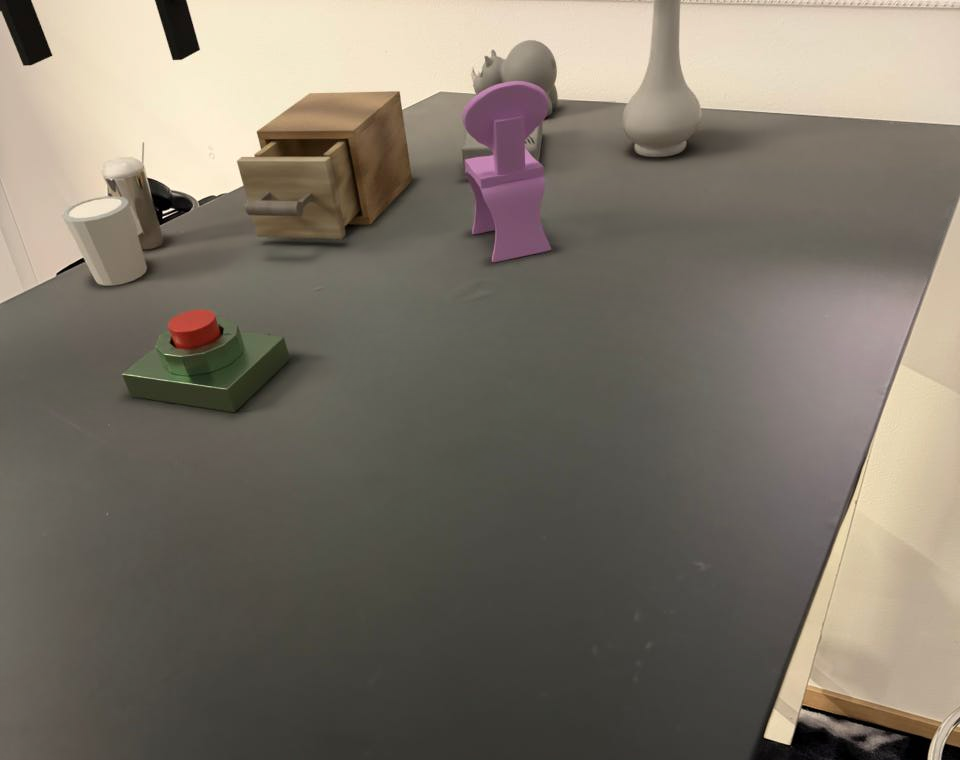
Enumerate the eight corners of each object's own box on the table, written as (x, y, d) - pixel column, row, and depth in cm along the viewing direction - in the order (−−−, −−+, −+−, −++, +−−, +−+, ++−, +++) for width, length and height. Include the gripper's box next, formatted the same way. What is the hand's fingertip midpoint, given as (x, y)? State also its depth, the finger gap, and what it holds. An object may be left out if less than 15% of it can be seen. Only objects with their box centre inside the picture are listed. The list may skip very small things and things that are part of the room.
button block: (130, 396, 76) (112, 354, 73) (191, 346, 81) (176, 305, 79) (234, 412, 72) (219, 368, 69) (290, 359, 78) (278, 316, 75)
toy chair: (535, 218, 95) (526, 57, 84) (561, 248, 89) (556, 78, 78) (461, 233, 94) (443, 72, 83) (482, 264, 88) (466, 95, 77)
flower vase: (585, 135, 112) (582, -120, 94) (733, 129, 108) (759, -139, 90) (571, 172, 103) (565, -102, 85) (732, 167, 99) (761, -121, 81)
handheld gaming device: (464, 181, 105) (461, 146, 102) (475, 140, 115) (473, 107, 112) (537, 177, 104) (536, 142, 101) (542, 136, 114) (542, 103, 111)
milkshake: (181, 242, 100) (149, 147, 93) (136, 256, 98) (100, 160, 91) (169, 231, 103) (137, 137, 96) (125, 244, 101) (89, 150, 94)
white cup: (165, 263, 96) (141, 196, 91) (124, 291, 92) (96, 222, 87) (118, 258, 98) (92, 192, 93) (76, 284, 94) (46, 217, 89)
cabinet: (370, 224, 98) (353, 130, 91) (279, 222, 101) (256, 131, 94) (412, 180, 107) (399, 91, 100) (327, 179, 110) (309, 93, 103)
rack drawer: (326, 255, 91) (308, 175, 85) (239, 252, 94) (216, 174, 88) (384, 195, 102) (372, 120, 96) (305, 194, 104) (288, 121, 99)
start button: (165, 348, 74) (157, 329, 72) (193, 326, 76) (186, 307, 75) (203, 353, 72) (196, 333, 71) (230, 330, 75) (224, 311, 74)
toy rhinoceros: (483, 106, 125) (477, 36, 119) (564, 105, 122) (562, 32, 116) (467, 122, 121) (460, 50, 115) (550, 121, 117) (548, 47, 111)
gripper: (-243, -335, 52) (-52, 76, 67) (104, -409, 45) (229, 67, 60) (-148, -334, 57) (10, 50, 72) (179, -401, 50) (277, 38, 65)
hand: (110, 58), depth 66 cm, fingers open, 13 cm apart
